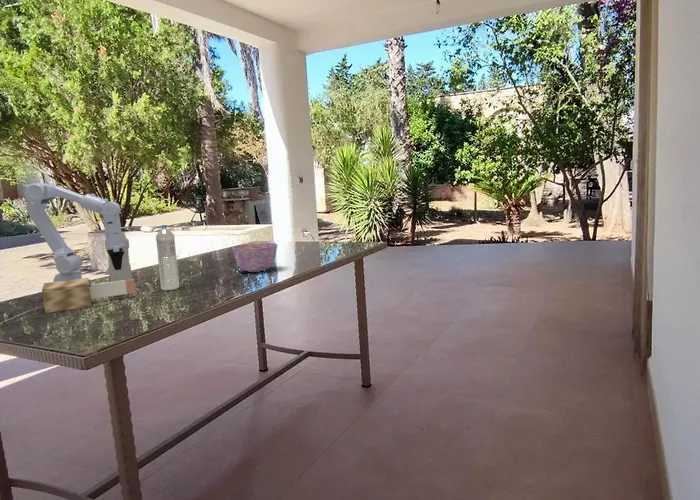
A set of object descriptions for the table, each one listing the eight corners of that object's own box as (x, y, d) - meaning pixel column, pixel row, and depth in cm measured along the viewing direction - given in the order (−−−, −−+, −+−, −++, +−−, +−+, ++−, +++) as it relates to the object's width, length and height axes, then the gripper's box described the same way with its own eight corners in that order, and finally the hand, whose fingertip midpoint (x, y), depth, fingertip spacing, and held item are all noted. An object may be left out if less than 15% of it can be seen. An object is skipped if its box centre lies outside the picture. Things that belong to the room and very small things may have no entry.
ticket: (77, 300, 184) (76, 286, 183) (77, 300, 185) (76, 286, 184) (135, 292, 192) (134, 279, 191) (135, 292, 193) (134, 278, 193)
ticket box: (45, 313, 174) (41, 289, 173) (47, 305, 186) (44, 283, 185) (93, 306, 180) (90, 283, 179) (92, 298, 193) (90, 277, 192)
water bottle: (169, 291, 199) (162, 226, 196) (157, 290, 203) (150, 226, 200) (183, 287, 205) (177, 224, 202) (171, 286, 209) (165, 224, 205)
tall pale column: (135, 280, 226) (130, 230, 223) (130, 282, 222) (125, 231, 219) (112, 281, 227) (106, 231, 224) (107, 283, 223) (101, 232, 220)
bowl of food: (226, 276, 226) (224, 249, 224) (243, 268, 246) (241, 243, 244) (271, 275, 223) (269, 248, 221) (284, 266, 242) (282, 242, 241)
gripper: (126, 233, 195) (130, 269, 196) (123, 231, 207) (127, 264, 209) (105, 235, 191) (109, 272, 193) (103, 232, 204) (107, 267, 206)
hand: (117, 268), depth 201 cm, fingers open, 7 cm apart
